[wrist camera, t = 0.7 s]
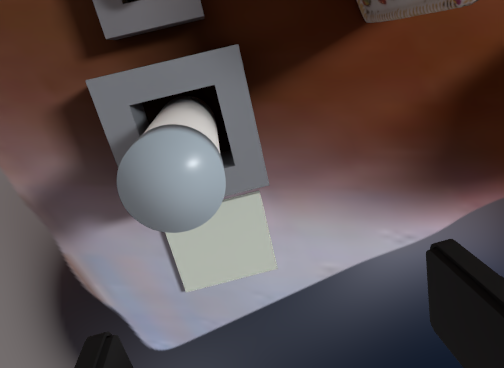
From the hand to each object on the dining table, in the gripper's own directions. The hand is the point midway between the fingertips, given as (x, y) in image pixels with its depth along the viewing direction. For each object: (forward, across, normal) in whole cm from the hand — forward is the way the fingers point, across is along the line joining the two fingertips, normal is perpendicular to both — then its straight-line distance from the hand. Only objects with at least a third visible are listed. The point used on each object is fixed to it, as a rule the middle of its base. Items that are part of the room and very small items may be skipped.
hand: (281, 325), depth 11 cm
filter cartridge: (+25, +4, -2) cm, 26 cm away
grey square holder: (+25, +4, -2) cm, 26 cm away
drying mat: (+25, +4, +11) cm, 27 cm away
